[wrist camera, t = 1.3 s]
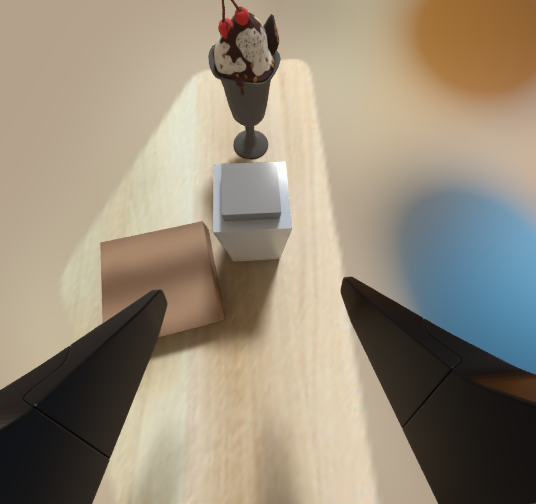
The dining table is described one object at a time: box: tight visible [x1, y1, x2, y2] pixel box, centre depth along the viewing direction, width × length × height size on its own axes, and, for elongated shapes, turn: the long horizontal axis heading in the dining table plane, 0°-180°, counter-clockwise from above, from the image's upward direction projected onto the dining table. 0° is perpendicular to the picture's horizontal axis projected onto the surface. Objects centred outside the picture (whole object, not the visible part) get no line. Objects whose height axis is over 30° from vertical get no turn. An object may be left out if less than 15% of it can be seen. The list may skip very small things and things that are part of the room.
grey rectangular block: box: [213, 162, 292, 262], centre depth 19 cm, size 6×6×11 cm
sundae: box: [209, 0, 280, 159], centre depth 20 cm, size 7×7×15 cm
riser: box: [100, 221, 225, 337], centre depth 21 cm, size 11×11×3 cm
